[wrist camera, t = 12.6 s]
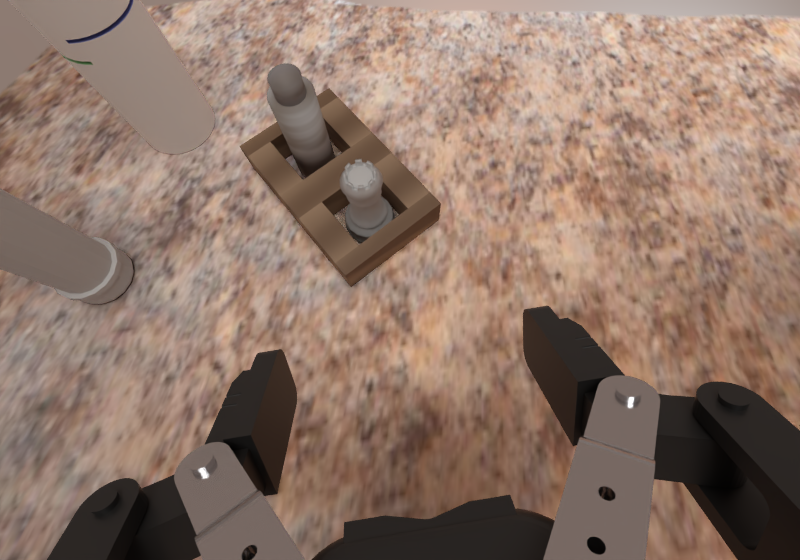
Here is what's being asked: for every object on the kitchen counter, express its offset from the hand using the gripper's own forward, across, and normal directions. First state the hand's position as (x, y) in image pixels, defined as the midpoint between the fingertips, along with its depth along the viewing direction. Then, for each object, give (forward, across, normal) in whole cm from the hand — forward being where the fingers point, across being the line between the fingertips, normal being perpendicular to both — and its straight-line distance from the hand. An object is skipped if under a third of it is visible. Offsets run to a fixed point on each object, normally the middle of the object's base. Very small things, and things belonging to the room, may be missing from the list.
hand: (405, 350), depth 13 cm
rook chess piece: (+24, +2, +4) cm, 25 cm away
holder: (+27, +4, +1) cm, 27 cm away
